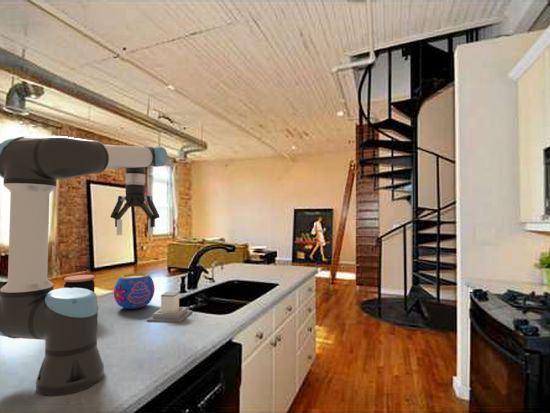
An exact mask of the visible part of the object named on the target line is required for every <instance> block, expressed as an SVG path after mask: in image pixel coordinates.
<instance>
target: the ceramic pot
mask: <svg viewBox="0 0 550 413" xmlns="http://www.w3.org/2000/svg"><path fill="white" fill-rule="evenodd" d="M154 294H155V284H154V280H153V278H152V277H151V276H150V275H149V274H147V273H137V272H136V273H135V272H134V273H127V274H123V275H121V276H120V277H119V278H118V279H117V281H116V282H115V286H114V289H113V297H114V301H115V302H116V304H117V305H118V306H120V307H121V308H123V309H126V310H136V309H140V308H143V307H145V306H146V305H148V304H149V303H151V301H152V299H153V298H154Z"/></svg>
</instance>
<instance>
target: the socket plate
mask: <svg viewBox="0 0 550 413" xmlns="http://www.w3.org/2000/svg"><path fill="white" fill-rule="evenodd" d="M192 313H193V310H191V309H190V310H189V309H188V307H186V306H179V312H178V313H177V314H168V313H161V308H159V309H158V310H156V311H155V312H154V313H152V315H151V316H150V317H148V318H146V322H154V323H155V322H156V323H178V324H179V323H181V322H182V321H183V320H185V319H186V318H187V317H188V316H190V314H192Z"/></svg>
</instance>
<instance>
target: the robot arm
mask: <svg viewBox="0 0 550 413" xmlns="http://www.w3.org/2000/svg"><path fill="white" fill-rule="evenodd" d="M167 163H168V151H167V150H166V149H165V147H163V146H143V145H141V146H139V145H119V144H117V145H116V144H103V143H102V142H100V141H98V140H92V139H91V140H90V139H83V138H76V137H75V138H74V137H71V136H69V137H68V136H64V135H63V136H62V135H58V136H57V135H50V136H18V137H15V138H14V137H13V138H8V139H5V140H4V141H2V142H1V143H0V177H1V178H2V179H3V186H4V187H5V188H6V189H7V190H9V192H10V202H9V203H10V204H9V206H10V207H9V208H10V209H9V234H8V235H9V236H8V237H9V238H8V239H9V240H8V262H7V263H8V266H7V267H8V268H7V270H8V272H7V282H6V284H4V285H3V286H2V287H1V288H0V336H1V337H6V338H9V339H13V340H15V339H24V340H25V339H26V340H27V339H28V340H43V341H44V349H45V350H44V358H43V360H42V363H41V365H40V368H39V371H38V374H37V377H36V380H35V390H36V392H37V393H39V394H40V395H44V396H52V397H53V396H64V395H68V394H73V393H77V392H80V391H83V390H85V389H88V388H90V387H92V386H93V385H95V384H97V383H98V382H99V381H100V380H102V379H103V377H104V375H105V366H104V362H103V359H102V357H101V354H100V351H99V349H98V316H99V315H98V314H99V313H98V312H99V305H98V297H97V294H96V293H95V291H94V292H93V291H91V290H88V289H84V288H64V287H60V288H56V289H55V288H54V282H52V281H51V280H49V279H48V264H49V262H48V260H49V259H48V258H49V257H48V256H49V228H50V227H49V224H50V195H51V193H52V192H53V191H54V190H55V189H57V180H68V179H72V178H78V177H84V176H88V175H89V176H90V175H96V174H101V173H103V172H105V171H106V170H118V169H125V196H123V195H118V196H117V201H116V204H115V206H114V208H113V210H112V212H111V214H110V219H114V226H115V228H116V236H122V235H123V219H121V218H123V216H124V215H125V213H126V212H127V211H128V210H129V209H130V208H131V207H138V208H139V207H140V209H141V210H142V211H143V212H144V213H145V215H146V216H147V217H148V218H149V219H148V220H147V236H153V235H154V230H153V229H154V228H155V227H156V219H159V218H160V214H159V212H158V210H157V208H156V206H155V204H154V201H153V196H152V195H146V196H145V193H146V185H145V184H146V171H145V170H146V168H149V167H150V168H151V167H152V168H153V167H154V168H155V167H157V168H158V167H159V168H160V167H164V166H166V165H167ZM125 201H126V202H125ZM145 201H146V202H147V204H146V203H145ZM124 202H125V203H124ZM123 203H124V205H123ZM147 205H148V206H149V207H148V206H147ZM149 208H150V209H149Z"/></svg>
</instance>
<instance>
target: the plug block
mask: <svg viewBox="0 0 550 413" xmlns="http://www.w3.org/2000/svg"><path fill="white" fill-rule="evenodd" d="M160 303H161V304H160V309H161V313H168V314H177V313H178V312H179V307H180V292H179V291H165V292H163V293H162V294H160Z"/></svg>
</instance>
